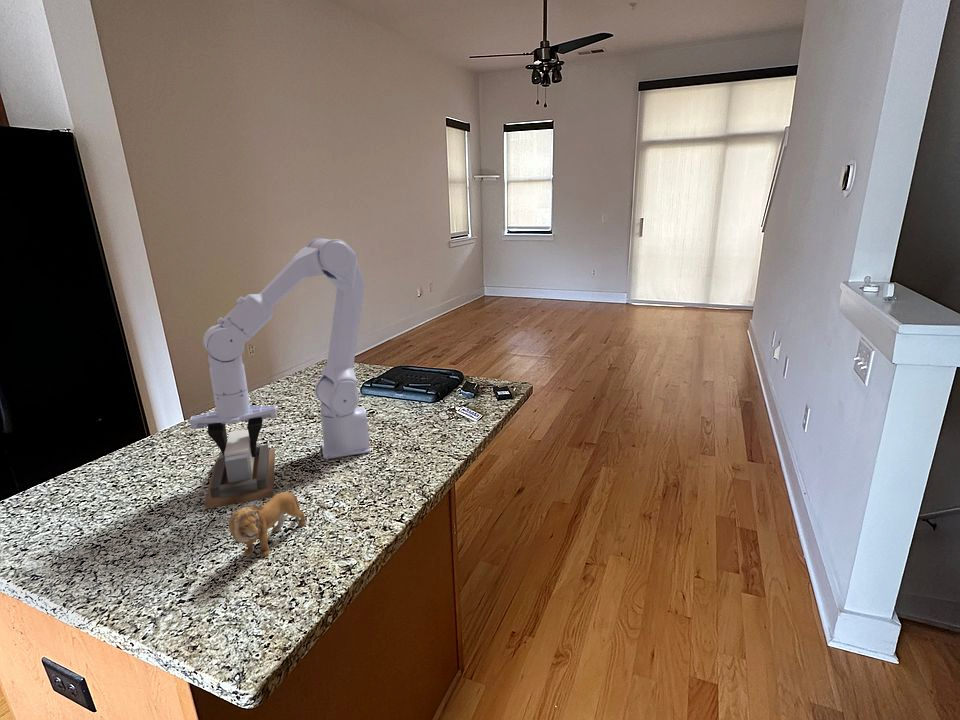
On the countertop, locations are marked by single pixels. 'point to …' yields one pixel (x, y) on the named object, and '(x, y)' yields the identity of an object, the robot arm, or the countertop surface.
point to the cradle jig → (242, 490)
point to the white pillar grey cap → (238, 456)
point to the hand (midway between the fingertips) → (241, 457)
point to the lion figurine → (263, 520)
